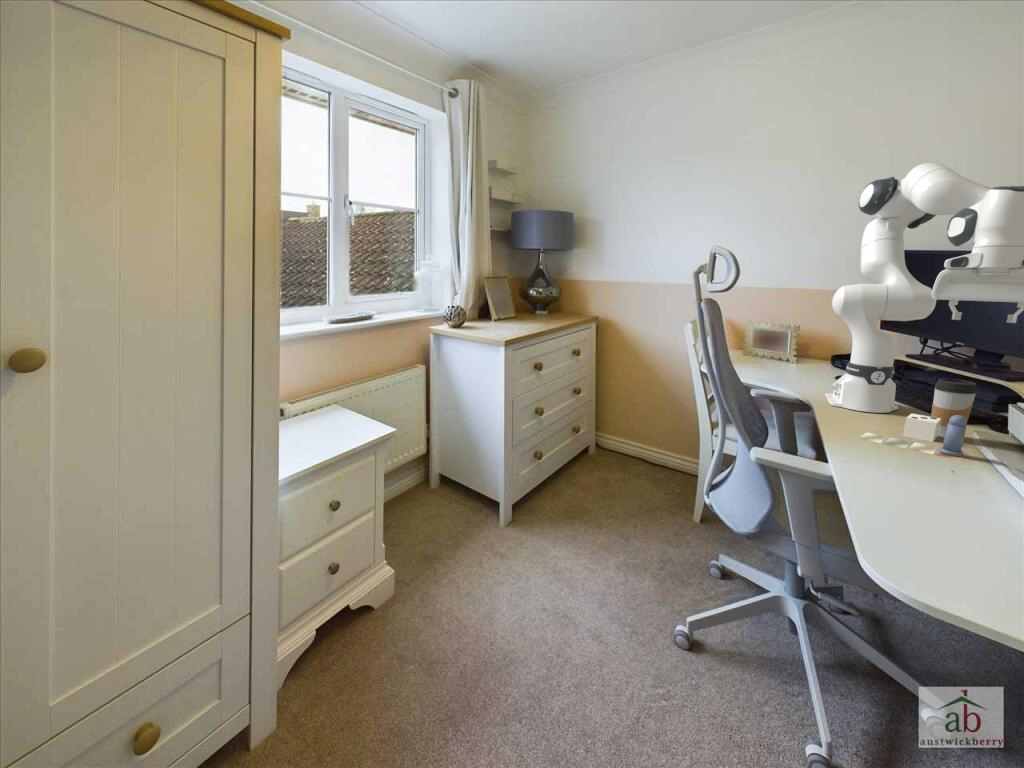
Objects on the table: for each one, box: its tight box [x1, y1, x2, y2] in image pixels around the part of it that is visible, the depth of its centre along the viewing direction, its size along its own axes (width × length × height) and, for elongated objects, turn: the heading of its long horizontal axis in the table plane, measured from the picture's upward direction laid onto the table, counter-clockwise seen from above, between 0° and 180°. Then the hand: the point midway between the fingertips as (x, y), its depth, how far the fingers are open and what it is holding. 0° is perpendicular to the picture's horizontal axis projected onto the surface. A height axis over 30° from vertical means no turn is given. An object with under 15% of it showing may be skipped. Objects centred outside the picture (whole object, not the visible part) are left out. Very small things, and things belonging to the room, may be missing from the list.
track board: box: [858, 432, 967, 461], centre depth 118 cm, size 22×8×1 cm, turn 41°
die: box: [902, 413, 941, 442], centre depth 125 cm, size 6×6×6 cm
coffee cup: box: [930, 378, 978, 437], centre depth 127 cm, size 8×8×15 cm
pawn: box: [938, 415, 968, 457], centre depth 112 cm, size 4×4×9 cm
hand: (982, 321), depth 114 cm, fingers open, 8 cm apart
